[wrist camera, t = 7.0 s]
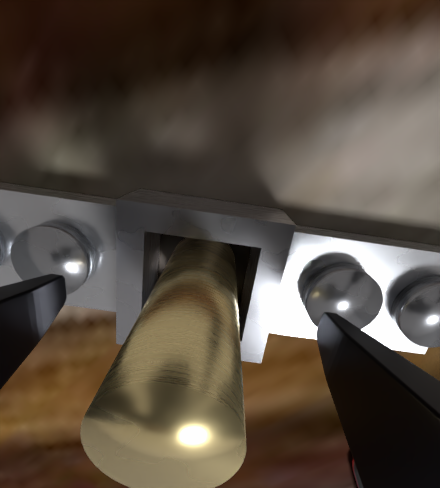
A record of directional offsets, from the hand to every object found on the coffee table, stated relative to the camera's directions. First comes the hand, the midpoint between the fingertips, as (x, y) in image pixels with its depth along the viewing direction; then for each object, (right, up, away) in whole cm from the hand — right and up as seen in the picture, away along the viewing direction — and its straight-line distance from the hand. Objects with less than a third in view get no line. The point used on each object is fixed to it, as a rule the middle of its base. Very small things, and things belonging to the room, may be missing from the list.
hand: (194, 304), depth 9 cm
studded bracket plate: (0, +1, +3) cm, 4 cm away
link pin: (0, +1, +3) cm, 4 cm away
